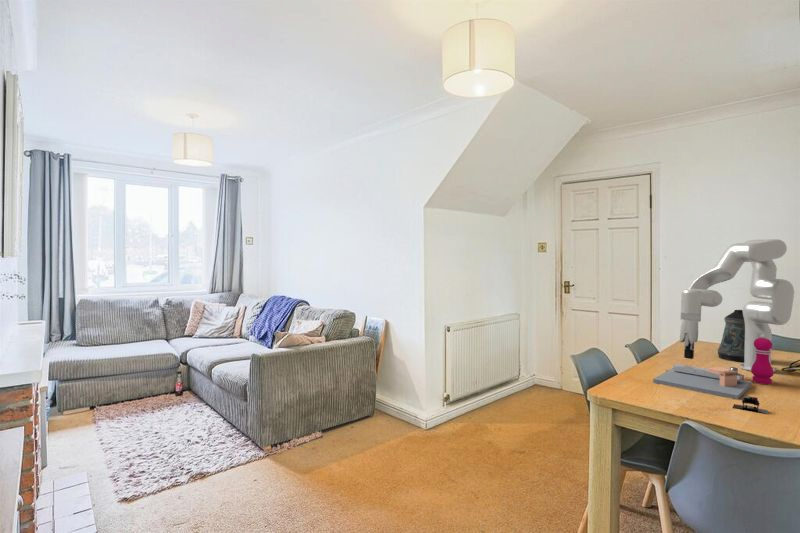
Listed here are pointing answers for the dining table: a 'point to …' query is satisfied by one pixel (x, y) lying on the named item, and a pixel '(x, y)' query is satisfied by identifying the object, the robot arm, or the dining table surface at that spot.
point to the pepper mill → (762, 361)
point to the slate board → (702, 384)
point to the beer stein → (733, 338)
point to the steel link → (704, 371)
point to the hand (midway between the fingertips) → (688, 358)
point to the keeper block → (725, 376)
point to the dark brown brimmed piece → (749, 408)
